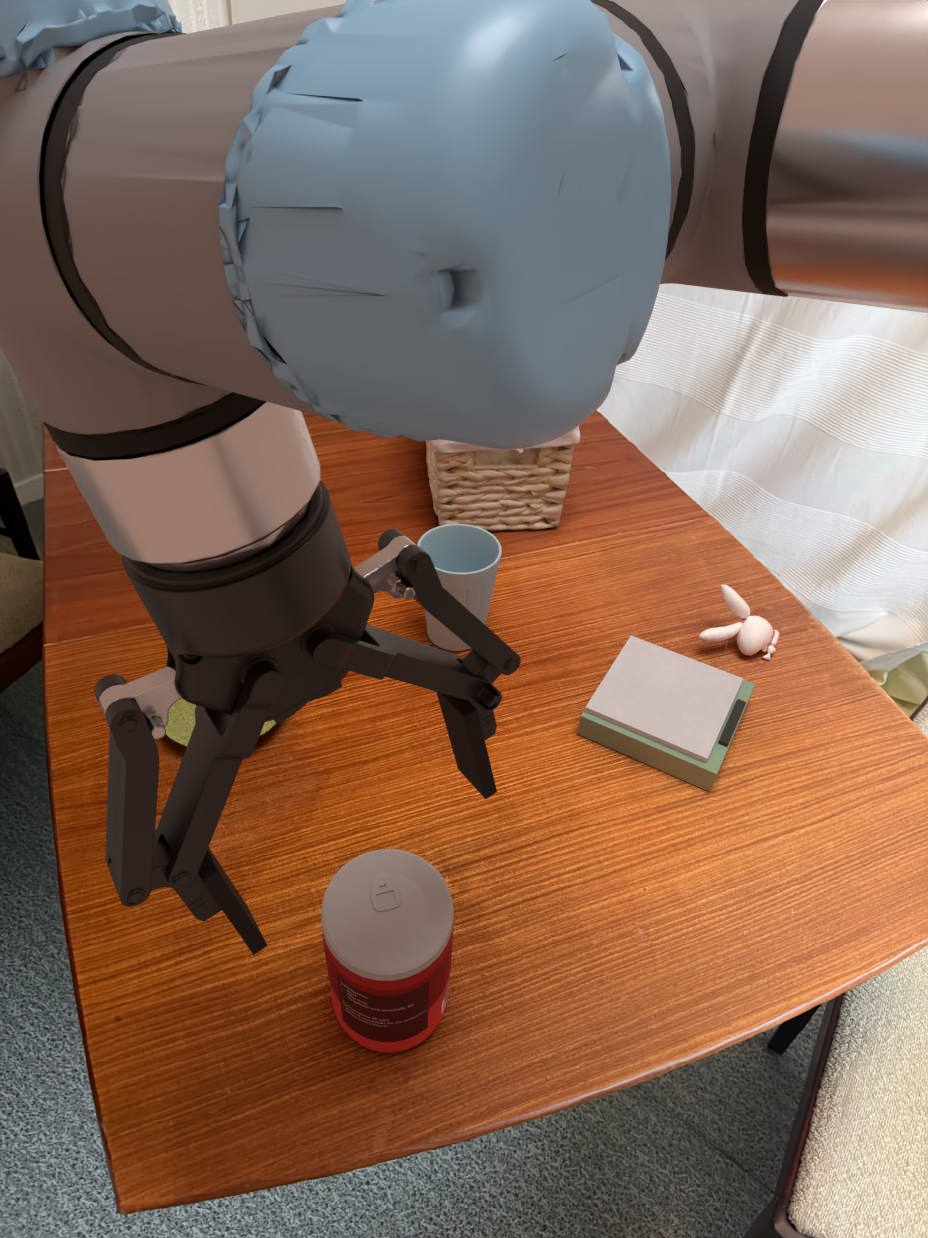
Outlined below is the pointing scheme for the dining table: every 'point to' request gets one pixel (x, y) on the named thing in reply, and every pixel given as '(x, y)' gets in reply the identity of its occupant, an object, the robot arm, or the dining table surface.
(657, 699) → the scale
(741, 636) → the rabbit figurine
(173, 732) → the green grinding disc
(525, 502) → the basket
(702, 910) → the dining table surface
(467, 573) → the cup
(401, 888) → the canned food
